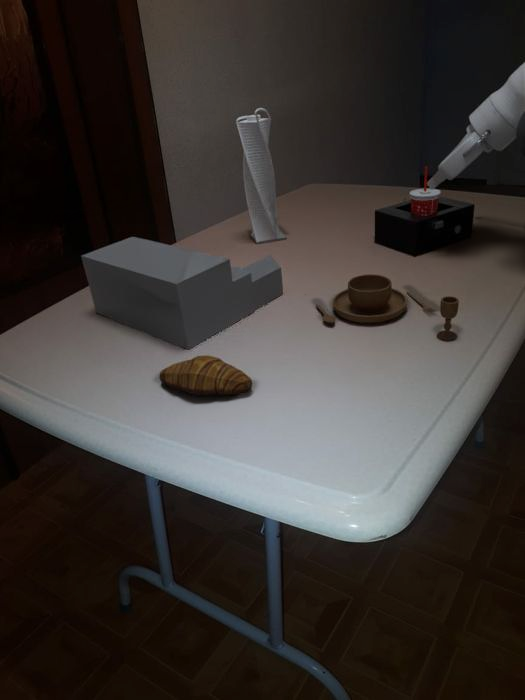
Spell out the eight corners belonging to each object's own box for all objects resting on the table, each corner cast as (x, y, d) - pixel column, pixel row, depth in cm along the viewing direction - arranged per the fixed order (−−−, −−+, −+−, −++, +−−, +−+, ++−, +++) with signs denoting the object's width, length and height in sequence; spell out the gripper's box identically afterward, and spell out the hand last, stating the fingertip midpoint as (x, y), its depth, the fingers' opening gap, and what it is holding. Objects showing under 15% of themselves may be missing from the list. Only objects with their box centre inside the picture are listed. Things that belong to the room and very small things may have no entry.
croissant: (150, 397, 75) (142, 365, 72) (172, 370, 80) (166, 340, 78) (243, 409, 70) (239, 375, 68) (260, 380, 76) (257, 348, 73)
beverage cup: (427, 228, 120) (431, 161, 113) (444, 236, 115) (448, 167, 108) (402, 233, 119) (404, 166, 112) (417, 241, 114) (421, 171, 107)
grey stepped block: (284, 294, 100) (279, 235, 94) (188, 349, 85) (176, 283, 80) (191, 269, 115) (182, 218, 110) (96, 313, 101) (81, 255, 95)
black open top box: (428, 225, 126) (430, 194, 122) (476, 238, 115) (479, 205, 112) (374, 242, 119) (374, 210, 116) (419, 258, 109) (421, 223, 105)
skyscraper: (288, 240, 125) (278, 106, 111) (253, 246, 124) (239, 111, 110) (278, 230, 132) (267, 103, 119) (245, 236, 131) (230, 108, 117)
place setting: (405, 287, 98) (406, 255, 95) (464, 338, 81) (467, 301, 78) (309, 304, 95) (307, 272, 92) (348, 360, 78) (348, 323, 75)
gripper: (496, 151, 94) (434, 206, 103) (511, 128, 109) (456, 178, 119) (471, 123, 94) (411, 181, 103) (489, 105, 109) (435, 157, 118)
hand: (435, 179), depth 111 cm, fingers open, 8 cm apart
